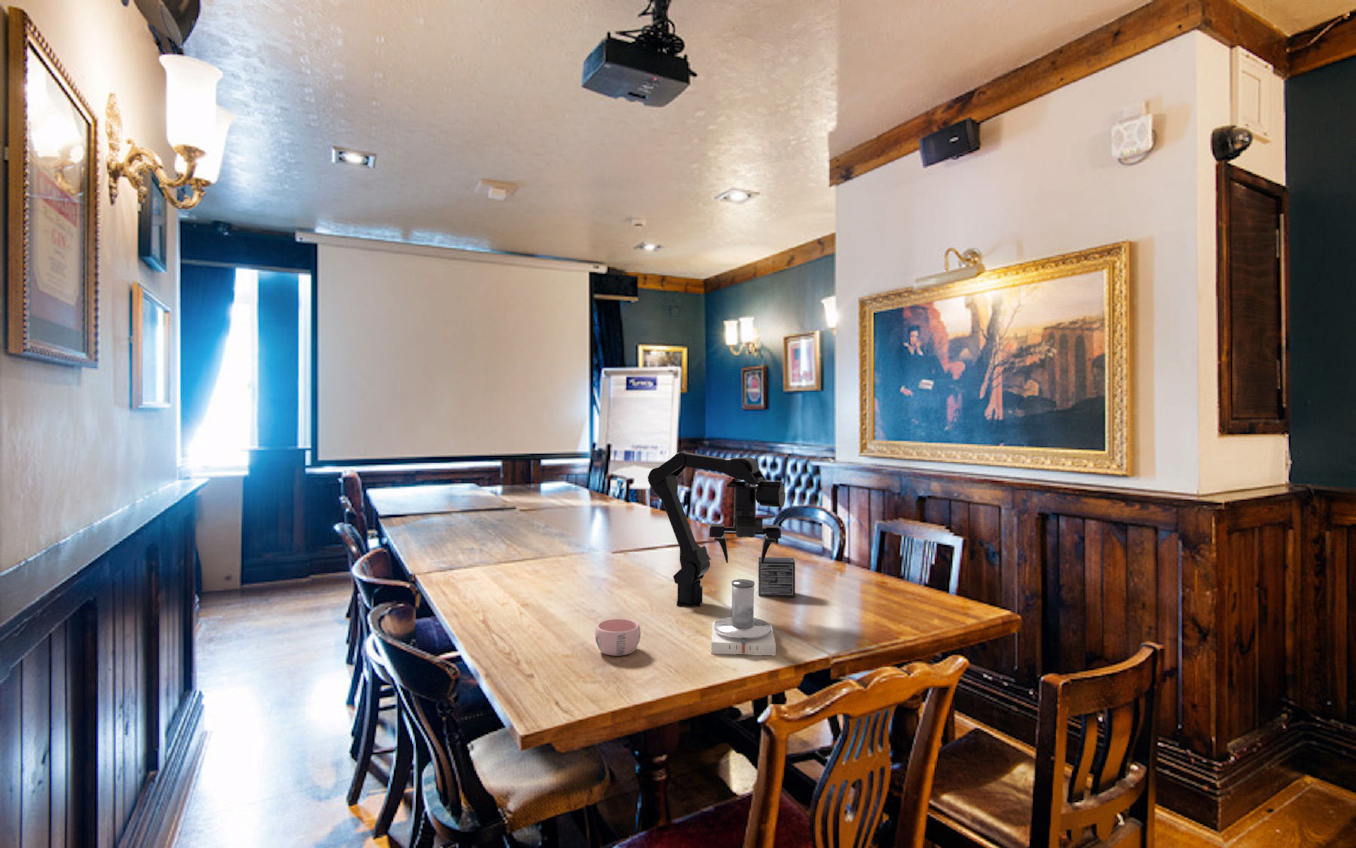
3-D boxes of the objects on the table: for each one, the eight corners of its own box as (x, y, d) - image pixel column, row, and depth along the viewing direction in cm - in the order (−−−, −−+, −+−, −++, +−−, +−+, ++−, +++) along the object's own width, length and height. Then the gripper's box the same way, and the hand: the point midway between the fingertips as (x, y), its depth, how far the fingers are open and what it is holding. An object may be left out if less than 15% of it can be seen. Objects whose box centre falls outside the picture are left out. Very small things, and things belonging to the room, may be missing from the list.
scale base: (711, 653, 142) (711, 642, 142) (712, 632, 156) (712, 621, 156) (775, 656, 141) (775, 644, 141) (771, 634, 155) (771, 623, 155)
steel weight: (727, 626, 148) (727, 582, 148) (738, 620, 152) (738, 578, 152) (747, 630, 145) (747, 586, 145) (757, 624, 149) (758, 581, 149)
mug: (645, 657, 140) (645, 630, 140) (600, 662, 136) (600, 634, 136) (631, 639, 151) (631, 613, 151) (589, 643, 148) (589, 617, 148)
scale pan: (713, 652, 141) (713, 636, 141) (714, 630, 156) (714, 615, 156) (773, 654, 140) (773, 638, 140) (769, 632, 155) (769, 617, 155)
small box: (793, 592, 192) (794, 557, 192) (795, 598, 186) (796, 562, 186) (757, 590, 194) (758, 556, 193) (758, 597, 187) (758, 560, 187)
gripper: (709, 508, 165) (708, 569, 165) (783, 509, 163) (782, 571, 164) (710, 502, 176) (709, 559, 176) (779, 503, 174) (778, 561, 175)
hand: (744, 563), depth 172 cm, fingers open, 9 cm apart
